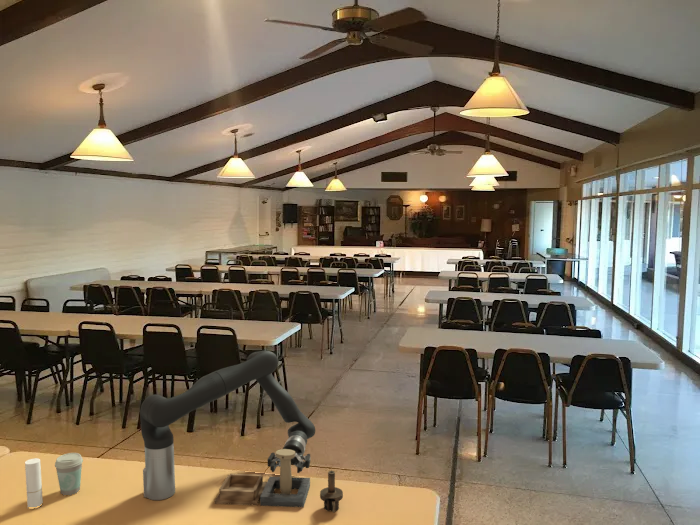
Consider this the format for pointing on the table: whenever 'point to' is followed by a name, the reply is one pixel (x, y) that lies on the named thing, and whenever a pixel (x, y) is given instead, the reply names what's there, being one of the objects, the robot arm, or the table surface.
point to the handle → (285, 469)
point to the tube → (33, 482)
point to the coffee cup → (69, 472)
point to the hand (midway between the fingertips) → (285, 469)
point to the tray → (241, 489)
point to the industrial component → (331, 494)
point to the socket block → (285, 499)
